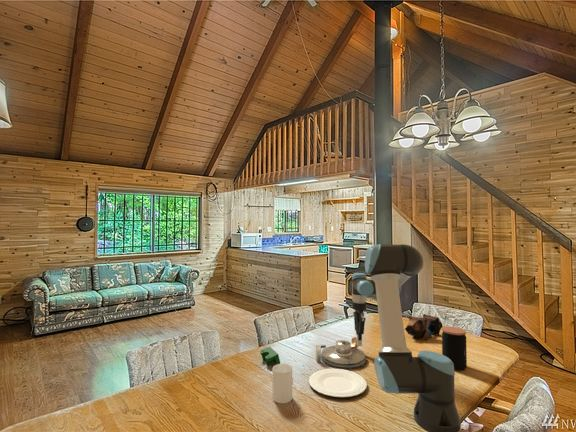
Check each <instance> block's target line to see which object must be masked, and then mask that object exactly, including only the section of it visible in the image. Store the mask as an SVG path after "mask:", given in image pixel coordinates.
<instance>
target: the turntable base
mask: <svg viewBox="0 0 576 432" xmlns="http://www.w3.org/2000/svg"><path fill="white" fill-rule="evenodd" d="M325 348H327V345H323V344H322V345H320V344H316V345H315V362H316V363H323V364H324V365H327V366H328V367H332V368H333V369H343V370H354V369H355V370H356V369H359V368H362V367H363V366H365V365H366V362H367V357H366V356H365V359H364V361H363V362H361V363H358V364H354V365H340V364H335V363H331V362H329V361H327V360H325V359H324V358H323V357H322V349H325Z"/></svg>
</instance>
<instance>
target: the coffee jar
mask: <svg viewBox="0 0 576 432" xmlns="http://www.w3.org/2000/svg"><path fill="white" fill-rule="evenodd" d="M441 331H442V332H441V350H442V351H441V354H442V355H444V356H446V357H448V358H449V359H450V360H451V361H452V362H453V364H454V371H458V372H461V371H465V370H466V369H467V367H468V366H467V365H468V364H467V363H468V362H467V361H468V358H467V336H466V334H467V330H465V329H464V328H461V327H458V326H457V327H456V326H449V325H448V326H443V327H442V328H441Z"/></svg>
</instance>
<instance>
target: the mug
mask: <svg viewBox="0 0 576 432" xmlns="http://www.w3.org/2000/svg"><path fill="white" fill-rule="evenodd" d="M293 385H294V378H293V367H292V366H291V365H290V364H288V363H280V364H277V365H275V364H274V365H273V367H272V400H273V401H274V402H275V403H277V404H287V403H289V402H291V401H292V399H293Z"/></svg>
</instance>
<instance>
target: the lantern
mask: <svg viewBox="0 0 576 432" xmlns="http://www.w3.org/2000/svg"><path fill="white" fill-rule="evenodd" d="M443 327H444V326H443V323H442V321H441V319H440V318H439V317H438V316H432V315H428V314H426V313H423V316H422V317H420V316H419V317H418V316H408V324H407V325H406V326H405V328H404V331H405V332H406V333H407V334H408V335H409V336H411V337H416V338H418V339H422V340H425V341H426V340H427V339H429V338H432V336H433V335H435V336H440V332H441V331H442V328H443Z"/></svg>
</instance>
